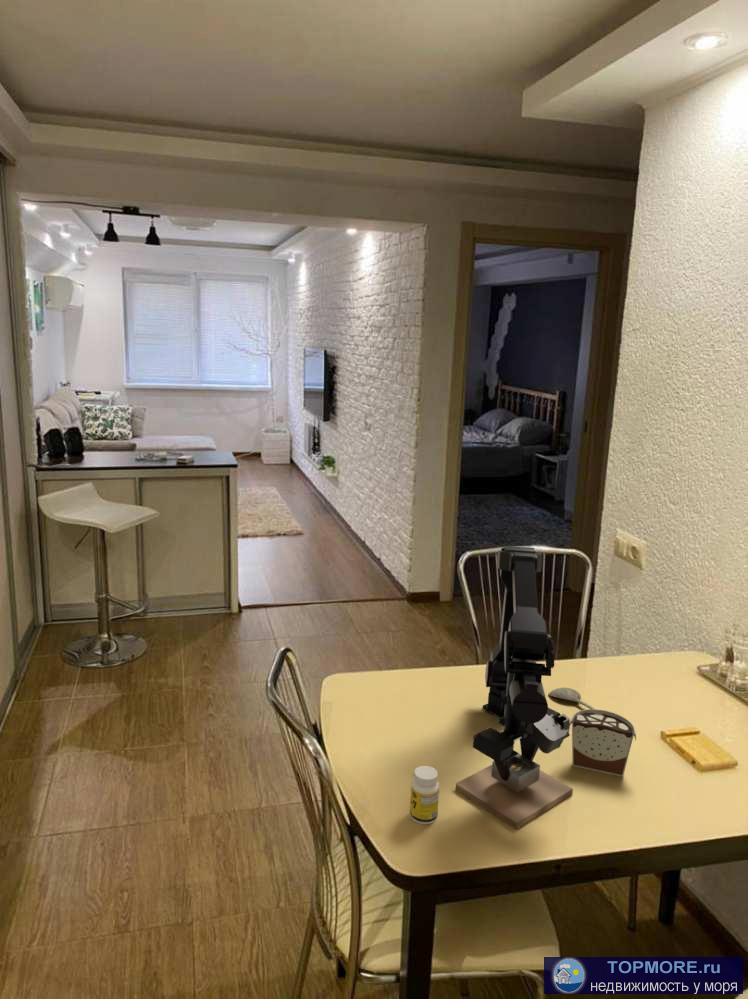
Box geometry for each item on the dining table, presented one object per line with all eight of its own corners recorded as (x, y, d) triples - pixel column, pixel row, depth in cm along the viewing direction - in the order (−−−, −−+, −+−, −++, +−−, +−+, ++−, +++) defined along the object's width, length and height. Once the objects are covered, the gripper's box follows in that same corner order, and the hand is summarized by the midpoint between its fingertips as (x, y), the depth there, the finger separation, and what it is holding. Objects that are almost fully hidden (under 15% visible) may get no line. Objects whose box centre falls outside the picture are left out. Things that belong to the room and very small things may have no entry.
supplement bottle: (407, 807, 126) (410, 764, 124) (434, 807, 127) (437, 763, 125) (411, 825, 122) (414, 780, 120) (439, 825, 122) (442, 780, 120)
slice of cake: (631, 761, 143) (637, 715, 141) (631, 778, 138) (637, 730, 135) (567, 748, 147) (572, 702, 145) (564, 764, 141) (569, 717, 139)
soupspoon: (563, 692, 174) (542, 698, 171) (563, 679, 173) (542, 685, 170) (636, 733, 155) (614, 741, 152) (637, 718, 154) (615, 726, 151)
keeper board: (511, 759, 142) (512, 754, 142) (572, 794, 132) (573, 788, 132) (455, 789, 132) (455, 783, 132) (516, 829, 122) (516, 823, 121)
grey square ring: (512, 765, 136) (513, 750, 135) (538, 780, 131) (540, 765, 130) (491, 776, 132) (492, 761, 131) (517, 792, 127) (519, 777, 127)
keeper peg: (513, 779, 134) (514, 760, 133) (525, 786, 131) (527, 767, 131) (503, 785, 132) (505, 765, 131) (515, 792, 130) (517, 772, 129)
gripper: (526, 730, 116) (518, 816, 119) (592, 697, 128) (583, 776, 131) (473, 702, 124) (467, 784, 127) (540, 673, 136) (533, 749, 139)
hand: (515, 773), depth 131 cm, fingers closed on grey square ring, 6 cm apart
